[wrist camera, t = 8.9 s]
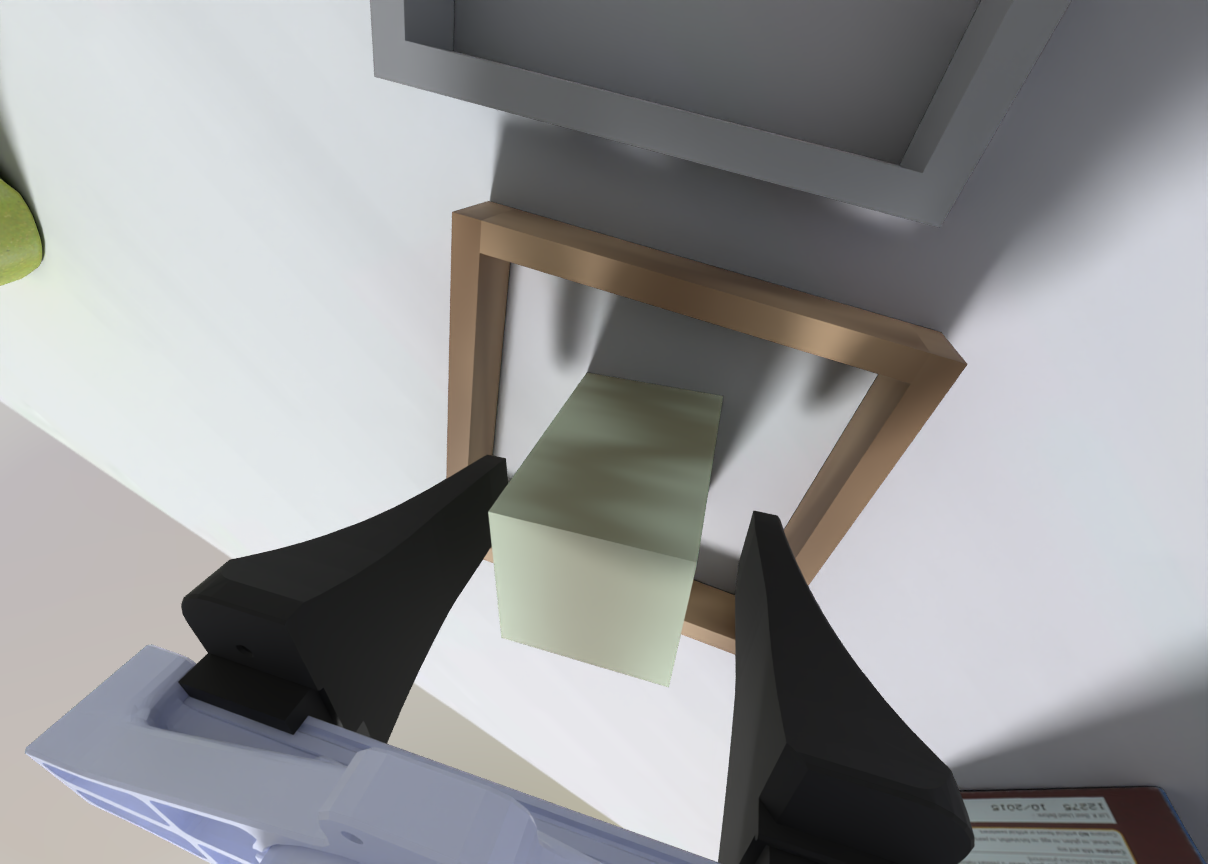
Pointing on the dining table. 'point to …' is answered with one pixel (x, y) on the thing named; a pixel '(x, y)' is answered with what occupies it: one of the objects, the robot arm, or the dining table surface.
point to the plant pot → (17, 237)
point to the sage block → (607, 526)
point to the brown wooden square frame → (755, 307)
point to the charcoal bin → (910, 190)
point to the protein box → (1077, 827)
